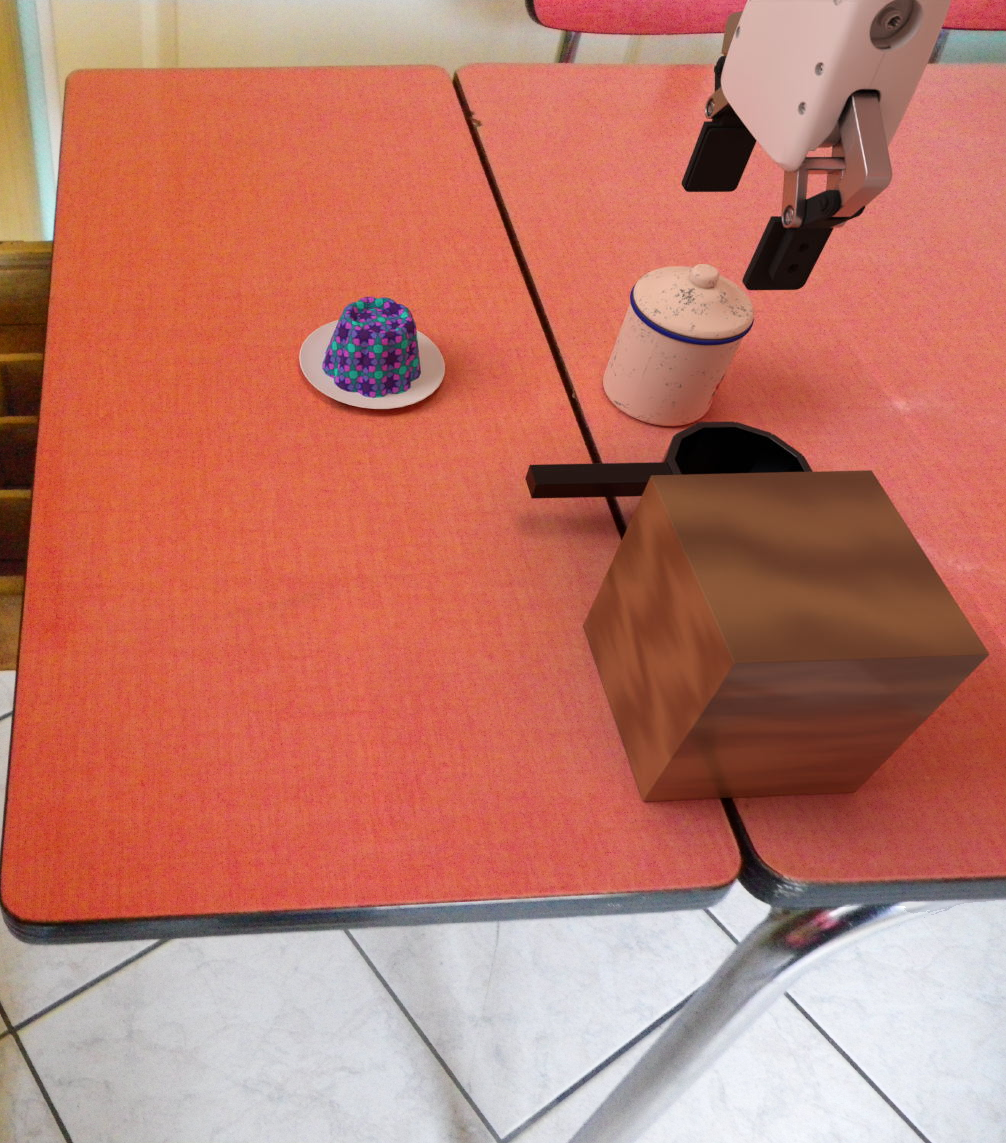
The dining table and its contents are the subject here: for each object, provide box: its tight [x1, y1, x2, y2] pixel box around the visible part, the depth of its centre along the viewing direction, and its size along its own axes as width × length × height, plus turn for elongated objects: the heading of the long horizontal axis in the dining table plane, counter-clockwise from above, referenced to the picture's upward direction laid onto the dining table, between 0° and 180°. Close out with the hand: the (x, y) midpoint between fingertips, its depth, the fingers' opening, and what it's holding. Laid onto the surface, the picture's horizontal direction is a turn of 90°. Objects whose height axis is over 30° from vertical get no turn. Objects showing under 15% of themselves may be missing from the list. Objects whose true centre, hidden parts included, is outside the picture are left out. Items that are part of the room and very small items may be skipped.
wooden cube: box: [582, 469, 990, 803], centre depth 61 cm, size 13×13×14 cm
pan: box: [524, 420, 814, 499], centre depth 74 cm, size 20×10×5 cm, turn 93°
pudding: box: [298, 296, 446, 410], centre depth 85 cm, size 12×12×5 cm
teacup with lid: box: [602, 263, 755, 427], centre depth 82 cm, size 12×9×12 cm
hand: (737, 235), depth 58 cm, fingers open, 9 cm apart
